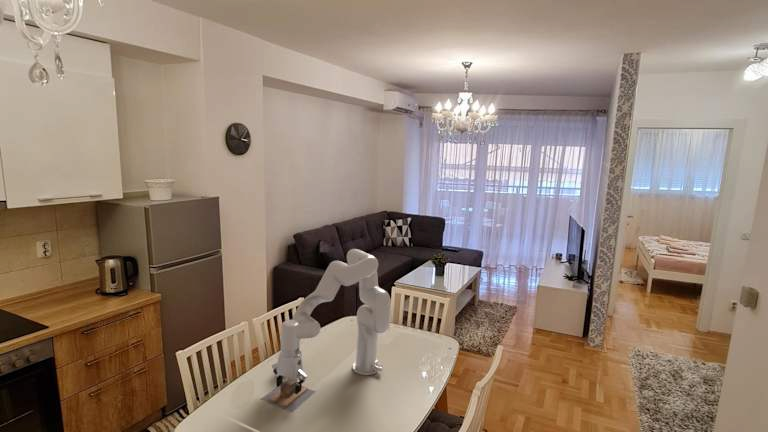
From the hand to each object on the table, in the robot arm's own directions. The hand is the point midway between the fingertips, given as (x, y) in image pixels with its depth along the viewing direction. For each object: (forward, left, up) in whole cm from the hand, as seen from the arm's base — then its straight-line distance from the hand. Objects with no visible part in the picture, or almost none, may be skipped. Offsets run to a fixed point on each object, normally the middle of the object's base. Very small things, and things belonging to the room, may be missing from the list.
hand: (288, 388), depth 168 cm
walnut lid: (0, 0, -3) cm, 3 cm away
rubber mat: (0, 0, -4) cm, 4 cm away
